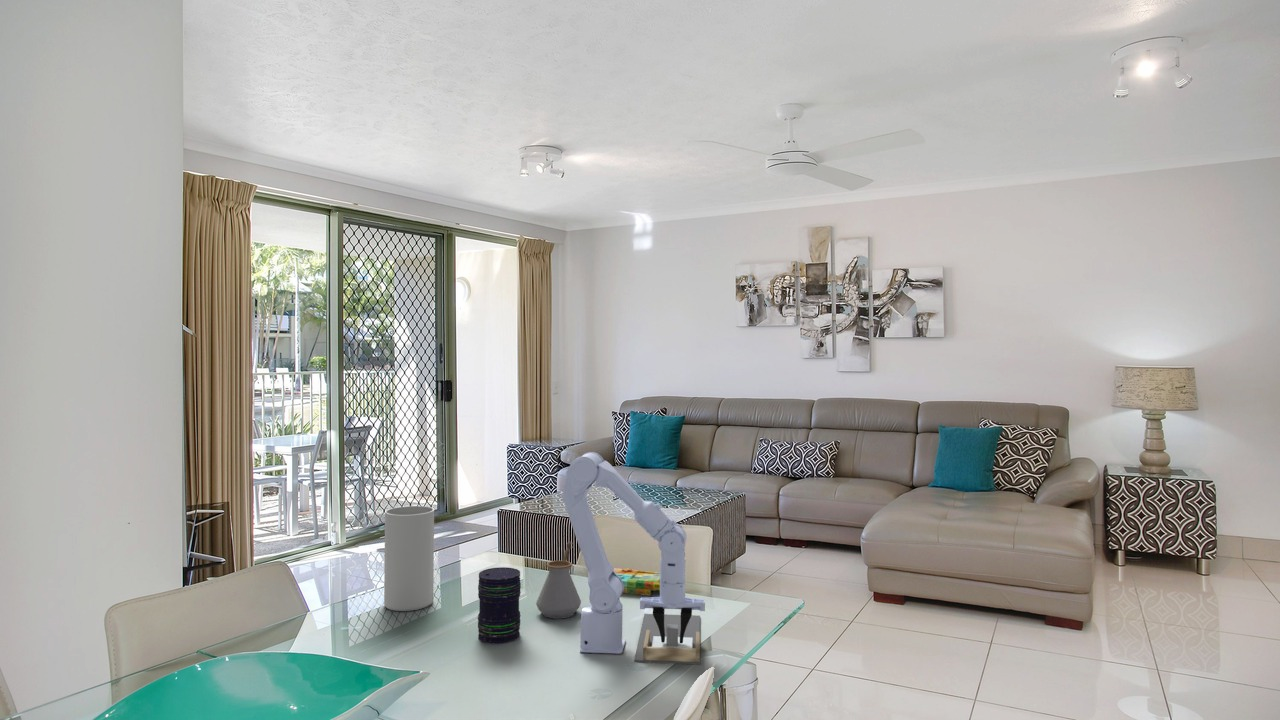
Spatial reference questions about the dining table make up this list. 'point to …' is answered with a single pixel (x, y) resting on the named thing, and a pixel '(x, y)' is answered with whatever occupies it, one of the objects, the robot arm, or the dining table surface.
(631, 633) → the dining table surface
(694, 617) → the rubber mat
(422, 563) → the cylinder vase
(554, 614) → the grey faceted twig vase
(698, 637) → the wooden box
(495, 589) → the storage jar
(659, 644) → the cover plate
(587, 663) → the dining table surface
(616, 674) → the dining table surface
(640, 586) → the puzzle game
